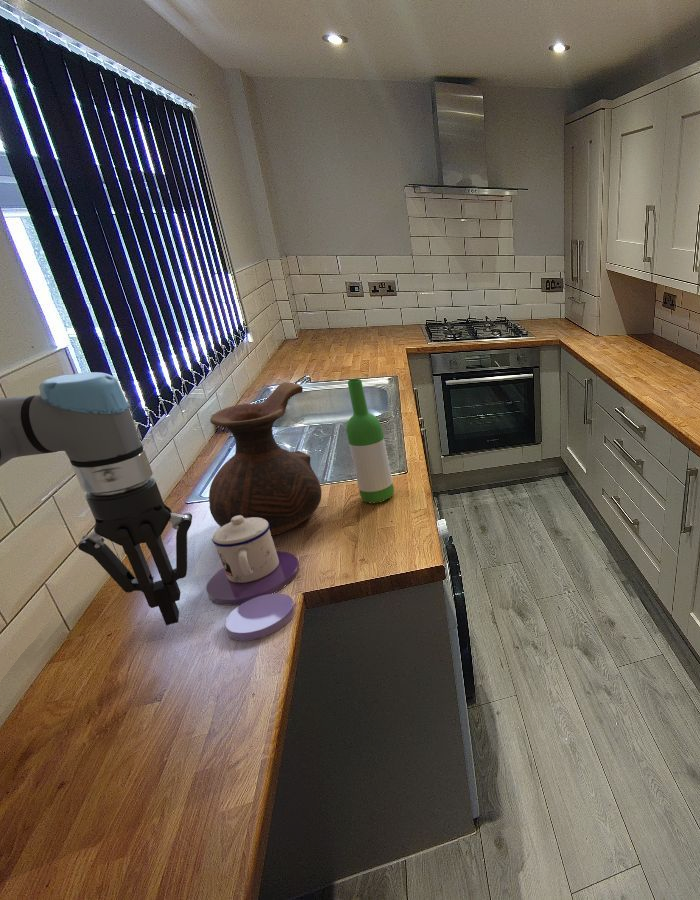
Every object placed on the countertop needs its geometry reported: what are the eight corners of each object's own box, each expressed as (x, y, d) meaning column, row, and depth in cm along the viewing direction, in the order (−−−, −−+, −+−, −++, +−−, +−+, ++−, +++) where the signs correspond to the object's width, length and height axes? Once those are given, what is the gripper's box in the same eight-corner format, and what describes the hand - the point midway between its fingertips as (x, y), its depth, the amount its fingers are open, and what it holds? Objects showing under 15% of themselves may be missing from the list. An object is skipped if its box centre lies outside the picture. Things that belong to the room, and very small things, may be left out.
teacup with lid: (227, 565, 103) (209, 513, 98) (280, 551, 107) (265, 501, 102) (222, 599, 93) (202, 544, 88) (281, 583, 97) (264, 529, 92)
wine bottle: (366, 508, 125) (340, 387, 113) (357, 496, 131) (331, 379, 119) (399, 498, 129) (377, 380, 118) (389, 487, 135) (366, 373, 123)
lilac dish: (227, 649, 83) (224, 641, 83) (227, 614, 91) (225, 606, 91) (298, 624, 88) (295, 617, 88) (292, 593, 96) (290, 586, 96)
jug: (323, 536, 114) (288, 405, 102) (206, 557, 107) (155, 419, 95) (333, 493, 133) (305, 377, 121) (234, 508, 126) (194, 388, 114)
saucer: (207, 616, 91) (205, 610, 90) (209, 572, 102) (207, 567, 102) (303, 585, 98) (302, 580, 98) (295, 548, 110) (294, 543, 109)
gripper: (49, 507, 67) (114, 650, 76) (176, 483, 74) (222, 617, 83) (63, 485, 73) (122, 620, 82) (179, 464, 79) (222, 591, 88)
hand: (172, 618), depth 82 cm, fingers closed
